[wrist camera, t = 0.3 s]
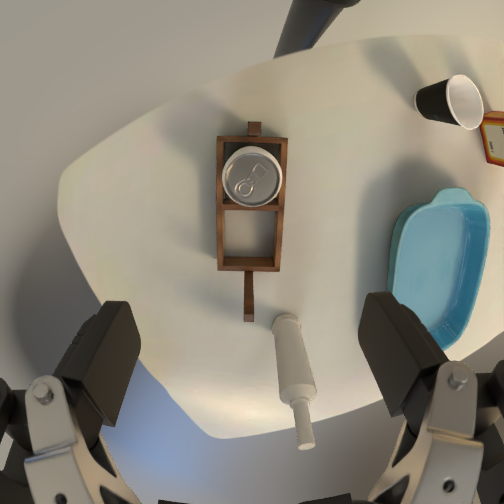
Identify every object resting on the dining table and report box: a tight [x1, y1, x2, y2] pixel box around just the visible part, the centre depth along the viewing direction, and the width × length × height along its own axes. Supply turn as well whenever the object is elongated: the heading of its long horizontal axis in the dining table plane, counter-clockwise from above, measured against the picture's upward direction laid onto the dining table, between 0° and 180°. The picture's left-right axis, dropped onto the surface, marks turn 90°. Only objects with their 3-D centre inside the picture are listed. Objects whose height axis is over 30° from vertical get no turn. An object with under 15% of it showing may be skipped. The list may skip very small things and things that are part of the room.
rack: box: [216, 122, 288, 322], centre depth 34 cm, size 22×9×14 cm, turn 178°
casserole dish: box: [387, 187, 490, 351], centre depth 42 cm, size 37×22×7 cm, turn 8°
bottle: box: [272, 314, 317, 450], centre depth 37 cm, size 5×5×25 cm
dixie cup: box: [414, 74, 484, 130], centre depth 28 cm, size 8×8×11 cm
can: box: [222, 146, 282, 207], centre depth 33 cm, size 6×6×12 cm
